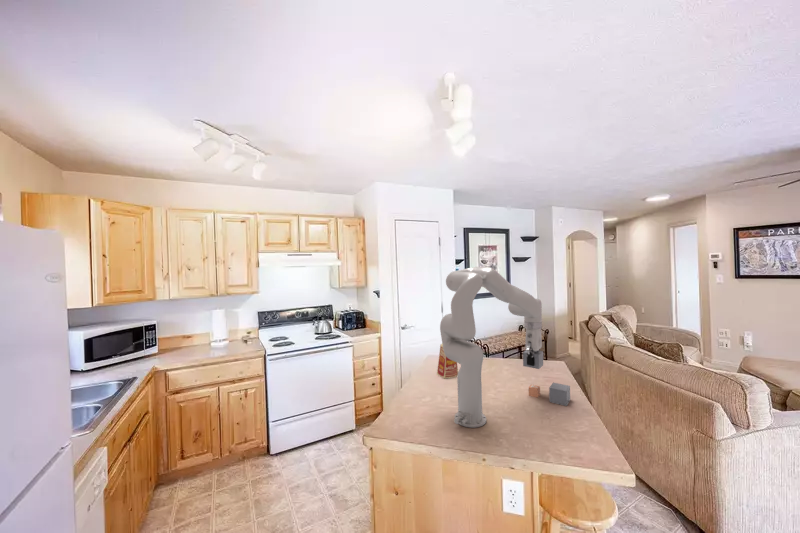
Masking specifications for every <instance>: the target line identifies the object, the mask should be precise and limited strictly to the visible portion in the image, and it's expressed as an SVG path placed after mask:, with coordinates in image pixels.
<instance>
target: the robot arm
mask: <svg viewBox="0 0 800 533" xmlns="http://www.w3.org/2000/svg"><path fill="white" fill-rule="evenodd" d="M445 285H446V287H447V289H448V290H449V291H452V292H455V293H454V295H453V297H452V299H451V302H450V312H451V313H447V314H445V315H444V316H443V317H442V319H441V321H440V324H439V331H440V336H441V337H440V338H441V342H442V343H441V344H443V350H444V353H445V355H446V357H447V358H448V359H450V360H452V361H455V362H457V364H460V367H459V369H458V375H457V376H456V379H457V381H456V382H457V408H458V409H457V412H456V413H455V414H454V420H453V422H454V424H456V425H459V426H462V427H466V428H480V427H483V426H484V425H485V424H486V423H487V416H486V415H485V414H484V413H483V394H482V393H483V392H482V391H483V390H482V388H483V387H482V368H483V363H484V361H483V360H484V352H483V349H482V347H481V346H479V345H478V344H477V343H474V342H471V340H473V339H474V338H475V337H476V333H477V328H476V322H475V314H474V309H473V308H474V306H473V304H474V300H475V298H476V296H477V294H478V293H479V292H480V290H481V288H484V289H486V290H487V291H488V292H489V293H490V294H492V296H493V297H494V298H495V299H497V300H499V301H501V302H504V303H506V304H508V308H507V310H508V311H509V313H510V314H512V315H514V316H518V317H523V319H524V323H523V325H524V327H523V328H524V329H525V346H524V347H525V351H527V365H531V366H534V351H540V350H541V349H542V347H543V342H542V341H543V340H542V339H543V338H542V328H543V327H542V326H543V324H542V322H543V321H542V320H543V319H542V317H543V316H542V311H543V310H542V306H543V305H542V304H543V303H542V301H541V299H539V298H535V297H534V296H533V295H532V294H530V293H529V292H527V291H525V290H524V289H521V288H519V287H517V286H515V285H512V284H511V283H510V282H509V281H508V280H507V279H506V278H505V277H503V275H502V274H500V273H499V272H498V271H497V270H496V269H494V268H493V267H490V266H475V267H474V266H472V267H468V268H463V269H458V270H454V271H451V272H450V273H449V274H447V276H446V279H445ZM530 349H532V350H530ZM530 351H531V352H532V353H531V352H530Z"/></svg>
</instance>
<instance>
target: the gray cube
mask: <svg viewBox="0 0 800 533" xmlns="http://www.w3.org/2000/svg"><path fill="white" fill-rule="evenodd" d="M530 350H532V349H530ZM530 352H531V351H530ZM531 353H532V352H531ZM522 364H523V365H522V367H526V368H530V369H537V370H540V369H541V368H542V367H543V366H544V351H543V350H539V351H534V366H531V365H527V351H526V350H524V351H523V352H522Z"/></svg>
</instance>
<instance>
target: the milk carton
mask: <svg viewBox="0 0 800 533" xmlns="http://www.w3.org/2000/svg"><path fill="white" fill-rule="evenodd" d="M439 347H440V348H439V354H438V363H437V369H436V376H439V377H440V378H442V379H444V380H446V379H454V378H457V375H458V372H459V369H458V368H459V367H458V363H457V362H455V361H452V360H450V359H448V358H447V357H446V355H445V353H444V350H443V344H442V343H441V344H440V346H439Z"/></svg>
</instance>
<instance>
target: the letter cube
mask: <svg viewBox="0 0 800 533" xmlns="http://www.w3.org/2000/svg"><path fill="white" fill-rule="evenodd" d="M528 396H529V397H533V398H540V396H541V386H540V385H535V384H530V385H529V386H528Z"/></svg>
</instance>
